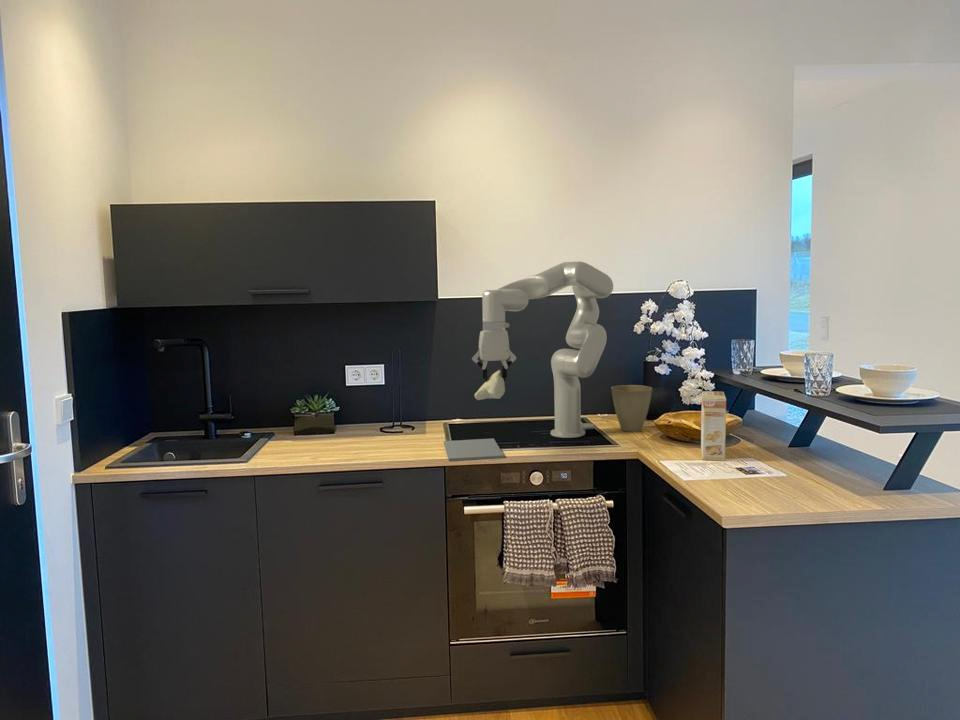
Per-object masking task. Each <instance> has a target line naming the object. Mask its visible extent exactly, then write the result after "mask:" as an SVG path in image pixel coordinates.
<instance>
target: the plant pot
mask: <svg viewBox="0 0 960 720" xmlns="http://www.w3.org/2000/svg"><path fill="white" fill-rule="evenodd" d="M610 388H611V395H612V401H613V406H614V409H615V410H614V412H615V415H616V419H617V421H618V424H619V426H620V429H621V430H622V431H623V432H629V433H634V432H635V433H637V432H640V431H642V429H643V427H644V424H645V421H646V419H647V415H648V412H649V409H650V404H651V398H652V393H653V392H652V391H653V387H651V386H647V385H641V384H640V385H639V384H627V385H626V384H625V385H624V384H623V385H622V384H621V385H615V386H611V387H610Z"/></svg>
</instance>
